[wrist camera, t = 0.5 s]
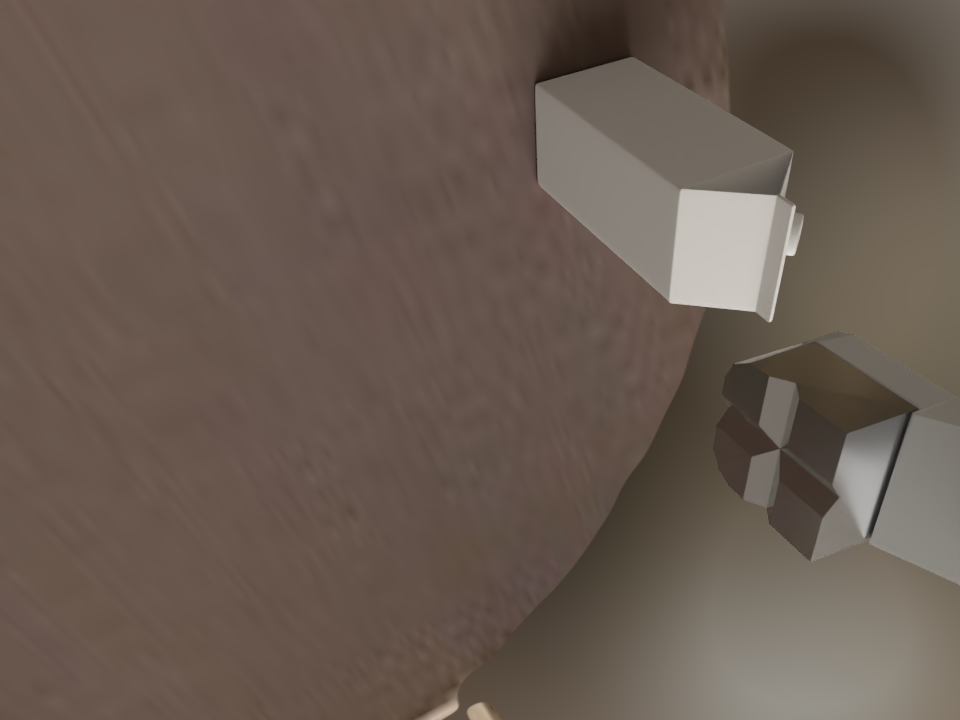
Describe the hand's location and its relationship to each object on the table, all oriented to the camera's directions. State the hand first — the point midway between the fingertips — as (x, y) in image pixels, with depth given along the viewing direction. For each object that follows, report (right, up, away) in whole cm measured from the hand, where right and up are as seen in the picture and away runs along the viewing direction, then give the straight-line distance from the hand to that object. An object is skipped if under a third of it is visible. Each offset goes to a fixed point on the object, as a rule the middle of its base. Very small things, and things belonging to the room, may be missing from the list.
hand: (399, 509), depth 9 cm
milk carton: (+7, +17, +47) cm, 50 cm away
